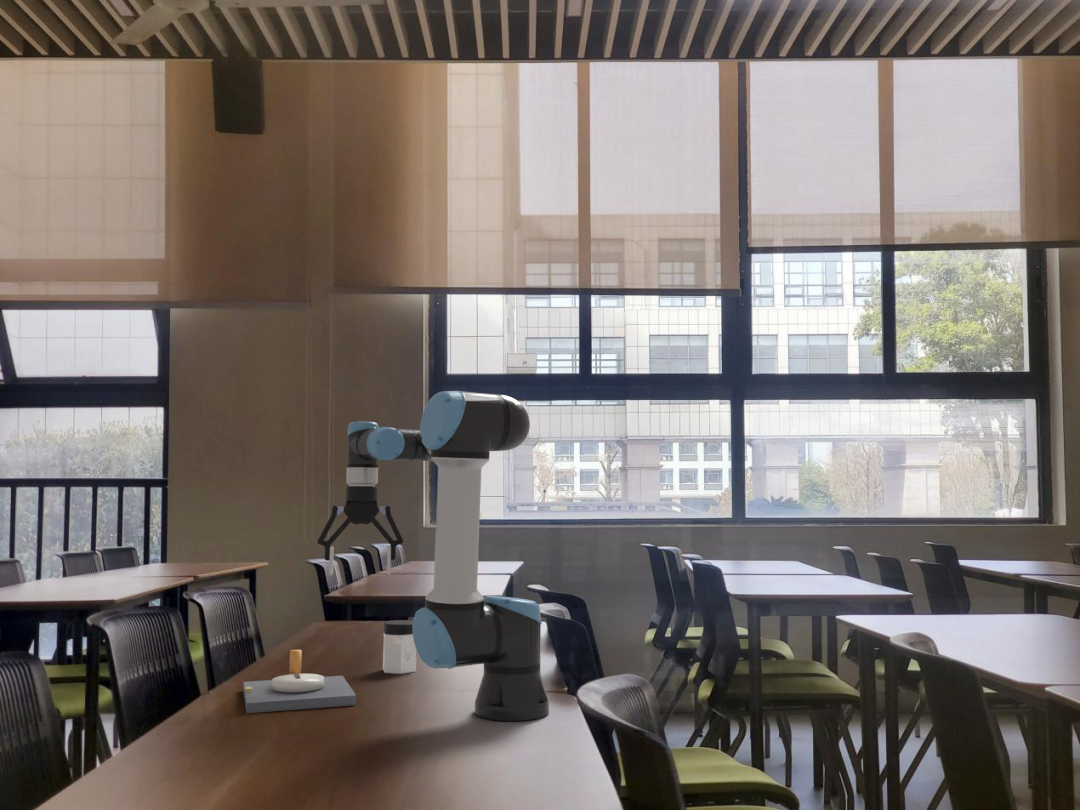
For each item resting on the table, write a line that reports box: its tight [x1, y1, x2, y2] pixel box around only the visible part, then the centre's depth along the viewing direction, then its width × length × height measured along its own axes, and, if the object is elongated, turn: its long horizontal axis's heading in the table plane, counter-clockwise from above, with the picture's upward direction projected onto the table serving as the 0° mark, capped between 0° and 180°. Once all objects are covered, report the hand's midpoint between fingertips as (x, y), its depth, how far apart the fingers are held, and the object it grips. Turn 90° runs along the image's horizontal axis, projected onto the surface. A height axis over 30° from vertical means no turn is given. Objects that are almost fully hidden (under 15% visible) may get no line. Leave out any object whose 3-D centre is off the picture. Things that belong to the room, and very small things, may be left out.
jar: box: [382, 619, 417, 675], centre depth 229 cm, size 9×8×12 cm
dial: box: [271, 649, 325, 692], centre depth 201 cm, size 15×11×6 cm
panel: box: [242, 675, 357, 714], centre depth 198 cm, size 22×22×3 cm
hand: (360, 574), depth 219 cm, fingers open, 13 cm apart
